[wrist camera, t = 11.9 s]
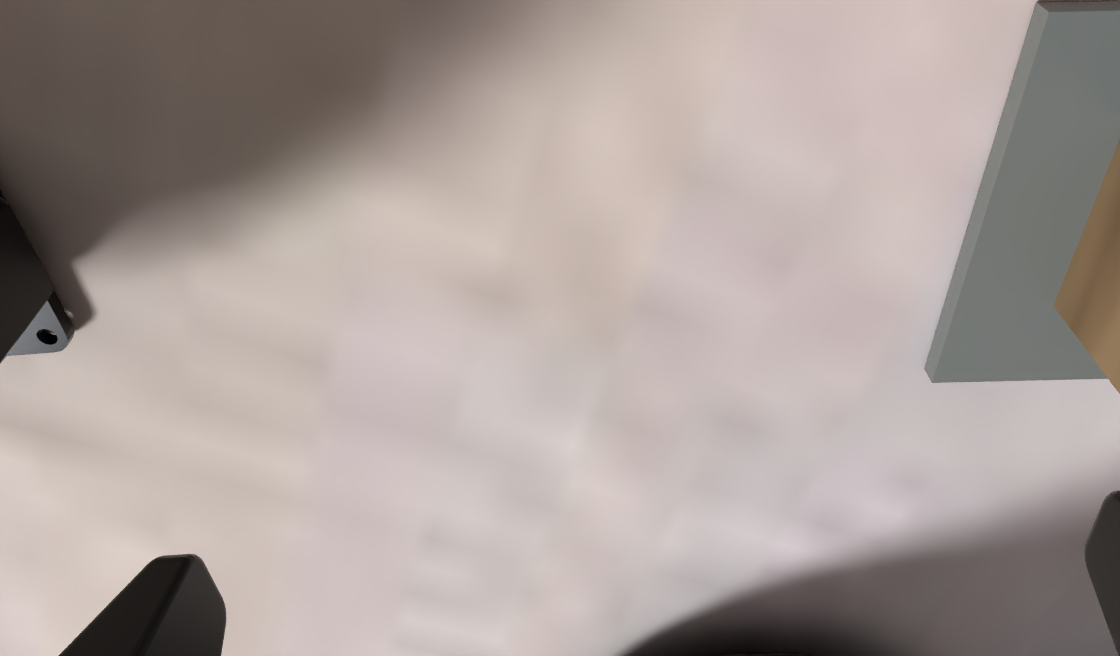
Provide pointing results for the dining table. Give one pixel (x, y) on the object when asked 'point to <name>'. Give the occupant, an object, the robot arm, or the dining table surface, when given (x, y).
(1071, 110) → the slate coaster
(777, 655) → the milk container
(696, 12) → the dining table surface
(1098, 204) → the walnut block
